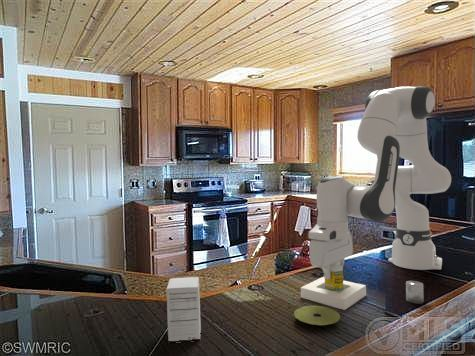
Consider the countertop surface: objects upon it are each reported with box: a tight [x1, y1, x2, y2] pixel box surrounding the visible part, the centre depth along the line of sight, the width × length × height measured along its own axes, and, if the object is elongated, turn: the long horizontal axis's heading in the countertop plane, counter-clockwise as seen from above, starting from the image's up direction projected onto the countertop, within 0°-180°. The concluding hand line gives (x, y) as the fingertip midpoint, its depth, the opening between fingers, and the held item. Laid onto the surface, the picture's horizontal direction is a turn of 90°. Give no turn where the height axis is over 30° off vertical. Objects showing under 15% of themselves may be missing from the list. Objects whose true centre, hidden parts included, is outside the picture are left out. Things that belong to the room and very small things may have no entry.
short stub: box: [405, 280, 425, 305], centre depth 94 cm, size 4×4×5 cm
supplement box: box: [166, 276, 202, 341], centre depth 78 cm, size 7×7×13 cm
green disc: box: [293, 305, 341, 326], centre depth 82 cm, size 11×11×2 cm
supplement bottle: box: [325, 259, 344, 293], centre depth 98 cm, size 5×5×10 cm
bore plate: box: [300, 276, 367, 311], centre depth 99 cm, size 14×14×3 cm
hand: (333, 275), depth 98 cm, fingers closed on supplement bottle, 5 cm apart
